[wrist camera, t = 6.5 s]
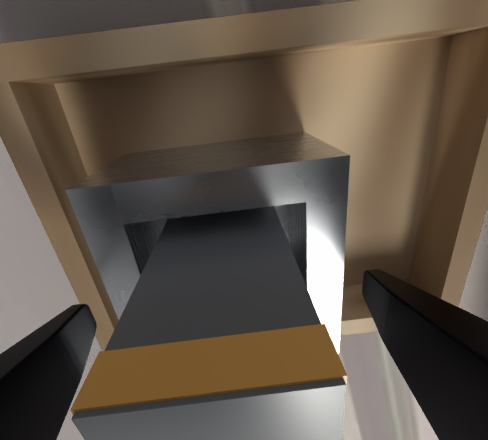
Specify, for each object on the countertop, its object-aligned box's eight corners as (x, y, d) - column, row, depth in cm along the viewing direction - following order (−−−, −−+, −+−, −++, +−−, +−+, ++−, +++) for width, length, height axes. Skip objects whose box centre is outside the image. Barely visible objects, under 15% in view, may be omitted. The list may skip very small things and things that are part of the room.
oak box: (464, 8, 11) (556, -24, 8) (412, 279, 17) (453, 321, 14) (34, 60, 11) (-42, 48, 8) (130, 314, 17) (108, 363, 14)
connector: (270, 194, 11) (349, 381, 4) (276, 275, 13) (339, 509, 6) (171, 206, 11) (66, 417, 4) (191, 286, 13) (143, 534, 6)
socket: (299, 129, 13) (350, 155, 8) (302, 267, 16) (338, 353, 11) (133, 149, 13) (65, 189, 8) (170, 283, 16) (142, 377, 11)
